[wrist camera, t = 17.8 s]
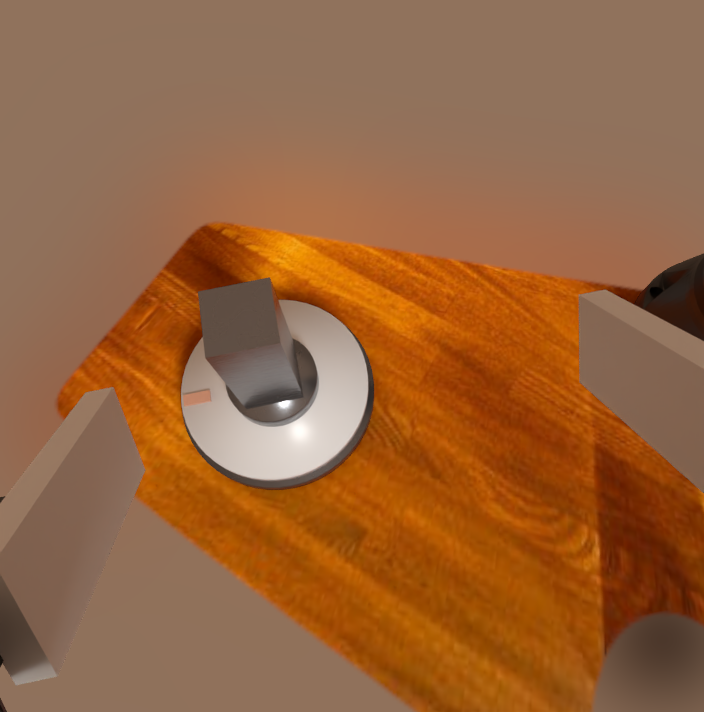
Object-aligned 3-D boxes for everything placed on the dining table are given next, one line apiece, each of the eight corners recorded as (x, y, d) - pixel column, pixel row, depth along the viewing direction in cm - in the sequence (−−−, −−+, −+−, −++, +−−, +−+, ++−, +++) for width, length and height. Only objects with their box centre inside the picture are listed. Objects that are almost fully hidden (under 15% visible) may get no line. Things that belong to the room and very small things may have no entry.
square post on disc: (310, 335, 52) (287, 255, 39) (326, 416, 49) (306, 359, 36) (226, 352, 52) (174, 277, 39) (236, 435, 49) (184, 384, 36)
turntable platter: (349, 291, 55) (348, 283, 53) (385, 460, 49) (386, 455, 47) (179, 325, 55) (173, 317, 53) (194, 499, 48) (187, 496, 47)
